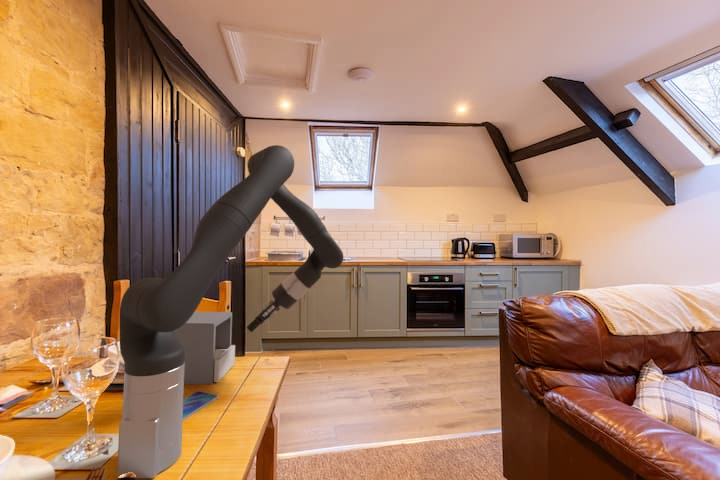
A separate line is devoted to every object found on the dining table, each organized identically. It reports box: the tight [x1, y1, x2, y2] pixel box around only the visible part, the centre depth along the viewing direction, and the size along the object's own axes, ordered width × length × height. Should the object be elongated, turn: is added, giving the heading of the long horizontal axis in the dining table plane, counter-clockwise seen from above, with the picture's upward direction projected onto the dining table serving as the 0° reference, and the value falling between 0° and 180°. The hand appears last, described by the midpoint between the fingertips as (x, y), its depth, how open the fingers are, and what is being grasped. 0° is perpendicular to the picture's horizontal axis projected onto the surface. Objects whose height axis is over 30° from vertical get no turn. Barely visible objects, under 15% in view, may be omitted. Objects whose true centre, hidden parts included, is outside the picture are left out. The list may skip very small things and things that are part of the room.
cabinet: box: [174, 311, 233, 385], centre depth 92 cm, size 16×14×17 cm
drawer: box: [213, 344, 236, 383], centre depth 92 cm, size 16×13×6 cm
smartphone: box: [183, 391, 219, 421], centre depth 72 cm, size 7×1×15 cm
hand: (249, 329), depth 93 cm, fingers closed
